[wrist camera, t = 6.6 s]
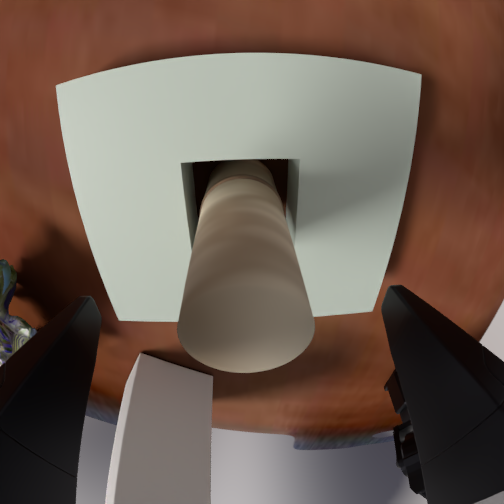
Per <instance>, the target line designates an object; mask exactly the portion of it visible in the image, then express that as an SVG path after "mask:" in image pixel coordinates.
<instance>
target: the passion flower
mask: <svg viewBox="0 0 504 504" xmlns="http://www.w3.org/2000/svg"><path fill="white" fill-rule="evenodd" d="M16 281H17V273H16V271H15V269H14V268H13V266H12V265H10V266H9V264H8V262H7V261H6V260H4V259H2V260H0V366H1V365H2V364H3V363H6V360H8V359H9V358H10V357H11V356H12V355H13V354H14V353H15V352H16V351H17V350H18V349H19V348H20V347H21V346H23V345H24V344H25V343H26V342H27V341H28V340H29V339H30V338H31V337H32V336H34V335H35V334H36V333H37V330H36V329H35V328H32V327H31V326H30V325H29V324H28V323H27V322H26V321H25V320H23V319H22V318H21V317H18V316H11V315H9V312H8V308H9V304H10V302H11V300H12V297H13V295H14V292H15V290H16Z"/></svg>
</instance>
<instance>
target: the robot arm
mask: <svg viewBox="0 0 504 504" xmlns="http://www.w3.org/2000/svg"><path fill="white" fill-rule="evenodd" d="M381 311H382V316H383V320H384V324H385V328H386V333H387V337H388V342H389V346H390V351H391V355H392V358H393V361H394V364H395V367H396V369H395V370H394V372H393V374H392V375H391V377H390V378H389V380H388V381H387V383H386V385H385V386H384V389H385V391H389V394H390V397H391V400H392V403H393V406H394V409H395V412H396V413H397V414H400V416H401V419H402V422H403V424H401V425H399V426H398V425H397V426H395V427H393V429H394V432H393V435H394V441H395V448H396V458H397V459H396V461H397V462H396V465H397V467H398V468H401V470H402V472H403V473H404V475H405V476H407V477H408V478H409V484H410V488H411V489H412V490H413V491H414V492H415V493H416V494H420V495H422V496H423V497H424V498H426V499H427V502H428V504H504V362H503V361H502V360H501V359H499V358H498V357H497V356H496V355H494V354H493V353H492V352H491V351H489V350H488V349H487V348H486V347H484V346H482V344H481V343H479V342H478V341H477V340H475V339H474V338H473V337H472V336H470V335H469V334H468V333H466V332H465V331H464V330H463V329H461V328H460V327H459V326H457V325H456V324H455V323H453V322H452V321H451V320H449V319H448V318H447V317H445V316H444V315H443V314H441V313H440V312H439V311H437V310H436V309H435V308H433V307H432V306H431V305H429V304H428V303H426V302H425V301H424V300H422V299H421V298H420V297H418V296H417V295H415V294H414V293H413V292H411V291H410V290H408V289H407V288H405V287H404V286H402V285H391V286H389V287H388V289H387V292H386V295H385V297H384V300H383V303H382V307H381ZM100 328H101V315H100V312H99V310H98V308H97V306H96V304H95V301H94V299H93V298H92V297H91V296H79V297H78V298H77V299H75V300H74V301H73V302H72V303H71V304H69V305H68V306H67V307H66V308H65V309H63V310H62V311H61V312H60V313H59V314H58V315H56V316H55V317H54V318H53V319H52V320H51V321H49V322H48V323H47V324H46V325H45V326H44V327H43V328H41V329H40V330H39V331H38V332H37V333H36V334H35V335H34V336H32V337H31V338H30V339H29V340H28V341H27V342H26V343H25V344H24V345H23V346H21V347H20V348H19V349H18V350H17V351H16V352H15V353H14V354H13V355H12V356H11V357H10V358H9V359H8V360H6V363H3V364H2V365H1V366H0V504H76V487H77V473H78V462H79V453H80V445H81V438H82V431H83V424H84V418H85V412H86V407H87V401H88V396H89V391H90V386H91V381H92V377H93V372H94V367H95V362H96V355H97V348H98V341H99V334H100Z"/></svg>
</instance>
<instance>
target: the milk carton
mask: <svg viewBox="0 0 504 504" xmlns="http://www.w3.org/2000/svg"><path fill="white" fill-rule="evenodd" d="M212 394H213V376H211V375H207V374H204V373H201V372H197V371H194V370H191V369H188V368H184V367H181V366H178V365H175V364H172V363H169V362H166V361H163V360H160V359H157V358H154V357H152V356H149V355H146V354H143V353H140V354H139V356H138V358H137V360H136V362H135V364H134V367H133V369H132V371H131V373H130V376H129V378H128V380H127V382H126V386H125V390H124V395H123V399H122V404H121V409H120V413H119V418H118V423H117V429H116V434H115V439H114V446H113V451H112V457H111V463H110V469H109V476H108V484H107V492H106V500H105V504H210V492H211V490H210V488H211V485H210V482H211V476H210V475H211V425H212Z"/></svg>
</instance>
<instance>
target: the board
mask: <svg viewBox="0 0 504 504" xmlns="http://www.w3.org/2000/svg"><path fill="white" fill-rule="evenodd" d="M420 90H421V74H417V73H414V72H410V71H406V70H402V69H397V68H393V67H388V66H384V65H379V64H373V63H368V62H362V61H356V60H349V59H342V58H335V57H326V56H316V55H304V54H288V53H226V54H209V55H197V56H187V57H179V58H171V59H164V60H157V61H151V62H145V63H140V64H134V65H129V66H125V67H120V68H116V69H111V70H107V71H103V72H99V73H95V74H92V75H88V76H85V77H81V78H78V79H74V80H71V81H68V82H65V83H62V84H59V85H56V91H57V100H58V108H59V115H60V122H61V129H62V135H63V140H64V146H65V151H66V156H67V161H68V166H69V170H70V175H71V179H72V183H73V187H74V191H75V195H76V199H77V203H78V207H79V210H80V214H81V217H82V221H83V224H84V228H85V231H86V234H87V237H88V240H89V243H90V246H91V249H92V252H93V255H94V258H95V261H96V264H97V267H98V270H99V272H100V275H101V278H102V280H103V283H104V285H105V288H106V291H107V293H108V296H109V298H110V301H111V303H112V305H113V308H114V310H115V312H116V315H117V317H118V319H119V320H120V321H159V322H178V320H179V314H180V309H181V303H182V298H183V293H184V288H185V283H186V278H187V273H188V268H189V263H190V258H191V253H192V249H193V244H194V240H195V235H196V231H197V226H198V215H197V205H196V196H195V186H194V176H193V165H192V162H199V161H216V160H241V159H288V180H287V204H286V222H287V225H288V228H289V232H290V235H291V238H292V242H293V245H294V249H295V252H296V256H297V259H298V263H299V266H300V270H301V273H302V277H303V281H304V284H305V288H306V291H307V295H308V299H309V303H310V306H311V310H312V314H313V317H316V316H329V315H340V314H351V313H361V312H370V311H373V308H374V305H375V302H376V299H377V296H378V293H379V290H380V287H381V284H382V281H383V278H384V275H385V271H386V268H387V265H388V261H389V258H390V254H391V251H392V247H393V243H394V240H395V236H396V232H397V228H398V224H399V220H400V216H401V212H402V207H403V203H404V198H405V194H406V189H407V184H408V179H409V173H410V168H411V162H412V156H413V150H414V143H415V136H416V129H417V121H418V112H419V102H420Z"/></svg>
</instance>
